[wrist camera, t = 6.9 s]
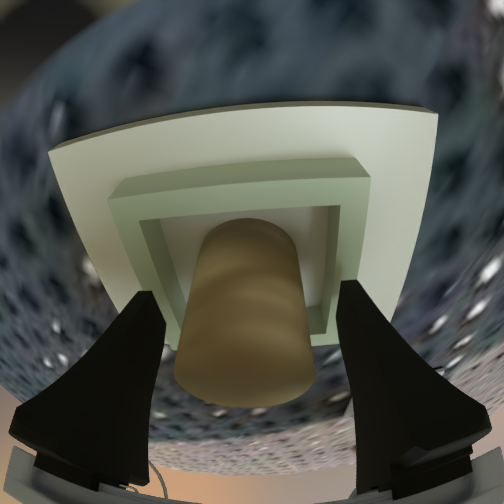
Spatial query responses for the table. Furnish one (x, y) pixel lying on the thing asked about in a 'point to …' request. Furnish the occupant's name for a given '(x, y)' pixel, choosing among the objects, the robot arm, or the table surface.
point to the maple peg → (246, 319)
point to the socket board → (254, 197)
